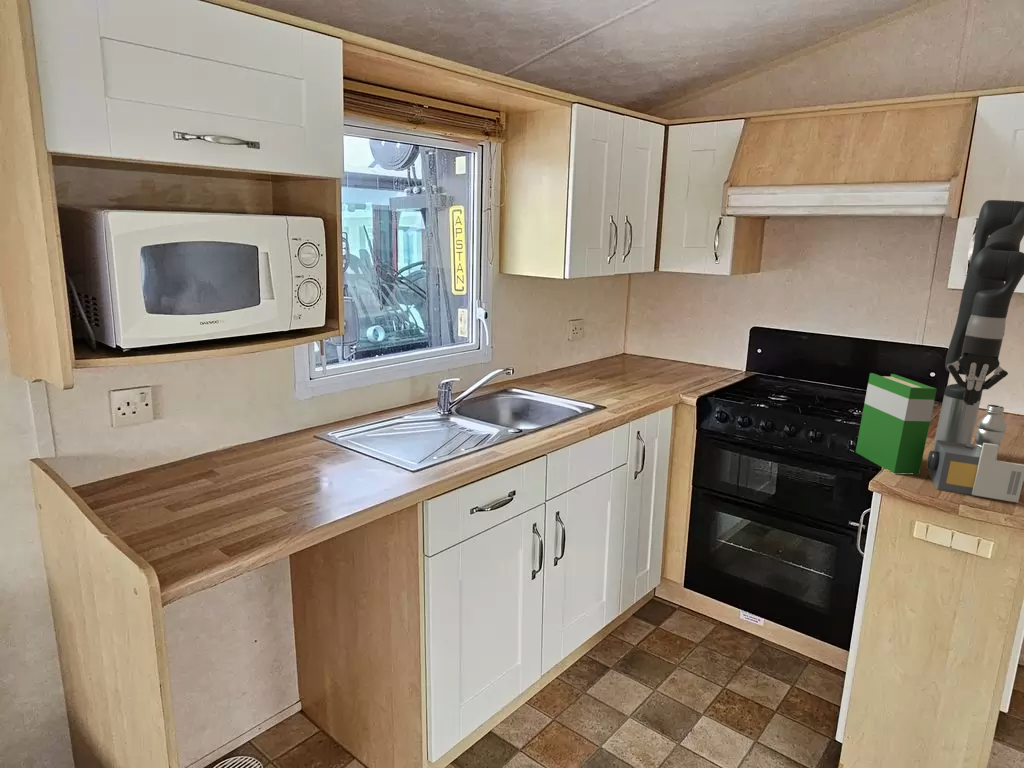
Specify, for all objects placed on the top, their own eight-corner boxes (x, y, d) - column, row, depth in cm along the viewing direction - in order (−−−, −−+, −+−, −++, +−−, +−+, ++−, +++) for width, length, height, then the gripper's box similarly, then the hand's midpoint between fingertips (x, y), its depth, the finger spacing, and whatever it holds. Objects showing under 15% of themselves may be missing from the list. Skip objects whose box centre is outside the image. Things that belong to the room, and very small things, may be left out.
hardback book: (855, 452, 203) (870, 373, 197) (878, 452, 203) (893, 374, 198) (893, 473, 186) (910, 387, 180) (919, 474, 186) (936, 388, 181)
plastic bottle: (966, 470, 192) (982, 401, 187) (995, 477, 188) (1012, 406, 183) (963, 476, 187) (979, 405, 182) (993, 483, 183) (1010, 411, 178)
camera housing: (922, 473, 187) (930, 435, 185) (971, 481, 183) (980, 443, 180) (930, 488, 176) (939, 448, 174) (983, 497, 172) (992, 456, 170)
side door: (971, 493, 173) (983, 442, 169) (1016, 501, 169) (1029, 449, 166) (972, 495, 172) (984, 443, 168) (1018, 502, 168) (1030, 450, 165)
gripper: (1012, 335, 165) (996, 405, 170) (949, 329, 170) (935, 397, 174) (1021, 340, 159) (1004, 412, 163) (955, 333, 163) (941, 403, 167)
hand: (968, 404), depth 168 cm, fingers closed
